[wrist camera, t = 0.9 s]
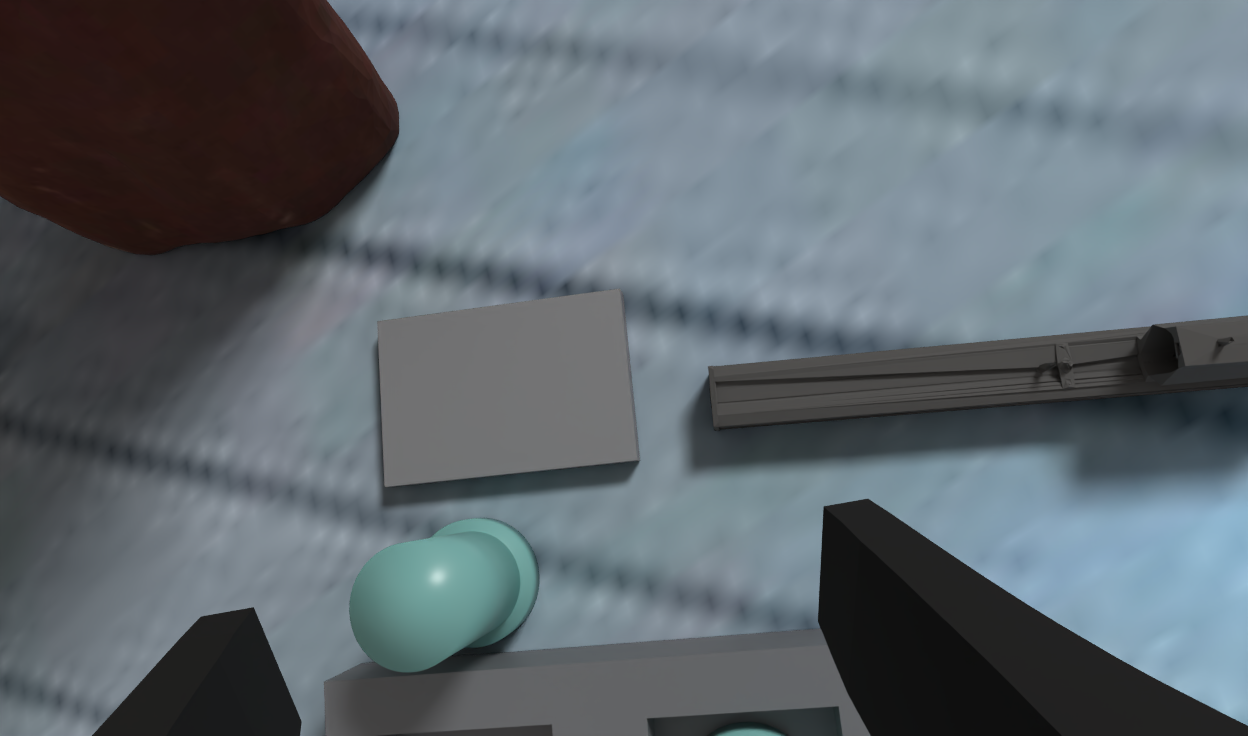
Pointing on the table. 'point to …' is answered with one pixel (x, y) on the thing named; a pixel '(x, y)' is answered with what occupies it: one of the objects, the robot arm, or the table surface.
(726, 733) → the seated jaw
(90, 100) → the sculpture
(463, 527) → the peg
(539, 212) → the table surface
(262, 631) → the robot arm
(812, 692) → the housing
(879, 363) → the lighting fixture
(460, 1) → the table surface
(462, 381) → the lid
